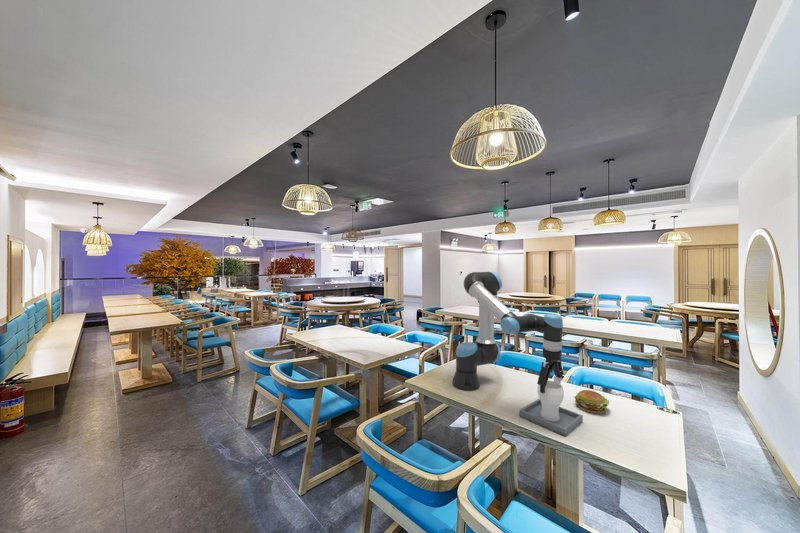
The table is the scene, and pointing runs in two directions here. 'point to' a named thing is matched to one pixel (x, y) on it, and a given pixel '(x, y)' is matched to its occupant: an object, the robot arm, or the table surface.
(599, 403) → the food
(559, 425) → the tray
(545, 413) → the cup
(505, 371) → the table surface
